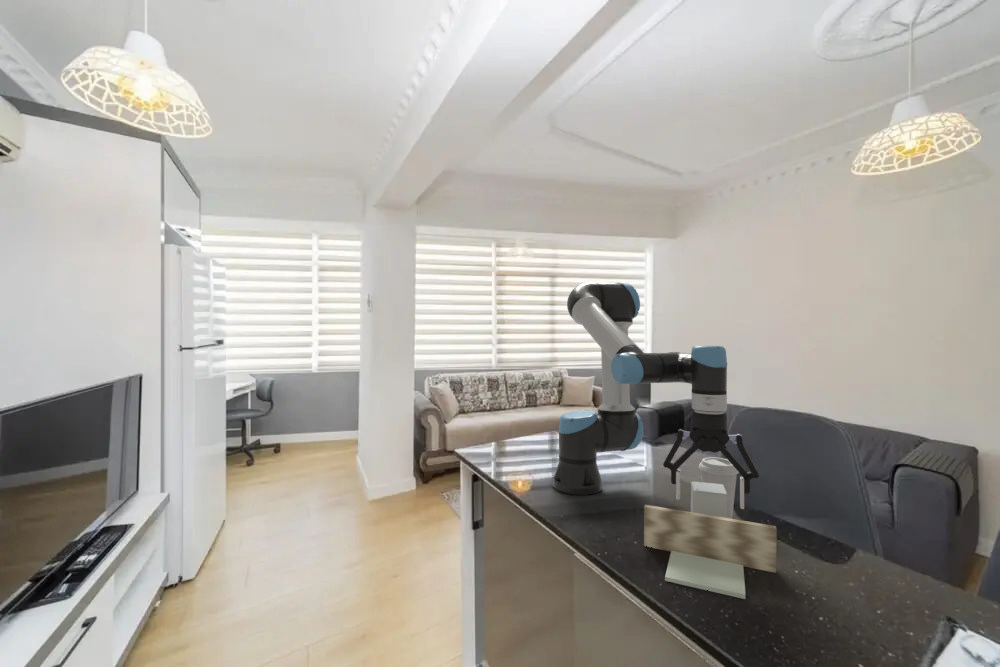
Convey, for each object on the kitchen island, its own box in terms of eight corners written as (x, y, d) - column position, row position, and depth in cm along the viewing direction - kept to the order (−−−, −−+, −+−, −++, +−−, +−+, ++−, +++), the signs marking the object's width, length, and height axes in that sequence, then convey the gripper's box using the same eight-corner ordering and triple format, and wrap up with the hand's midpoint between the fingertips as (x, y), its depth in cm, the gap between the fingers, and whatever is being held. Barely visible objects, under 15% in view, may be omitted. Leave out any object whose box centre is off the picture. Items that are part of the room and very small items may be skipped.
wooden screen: (644, 546, 106) (644, 506, 105) (645, 543, 107) (645, 504, 107) (776, 572, 94) (776, 528, 94) (775, 569, 96) (775, 526, 95)
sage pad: (664, 580, 91) (665, 576, 91) (671, 554, 102) (671, 550, 102) (745, 599, 85) (745, 594, 85) (743, 568, 96) (743, 565, 96)
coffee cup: (743, 527, 116) (744, 467, 115) (702, 524, 118) (703, 465, 117) (732, 512, 125) (732, 457, 125) (694, 510, 127) (695, 455, 127)
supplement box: (727, 550, 104) (727, 494, 104) (691, 544, 106) (691, 490, 106) (723, 536, 111) (724, 483, 111) (690, 531, 113) (690, 480, 113)
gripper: (651, 410, 110) (651, 499, 110) (772, 418, 99) (772, 517, 99) (655, 405, 117) (655, 489, 117) (769, 412, 106) (769, 505, 106)
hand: (709, 502), depth 108 cm, fingers open, 13 cm apart
